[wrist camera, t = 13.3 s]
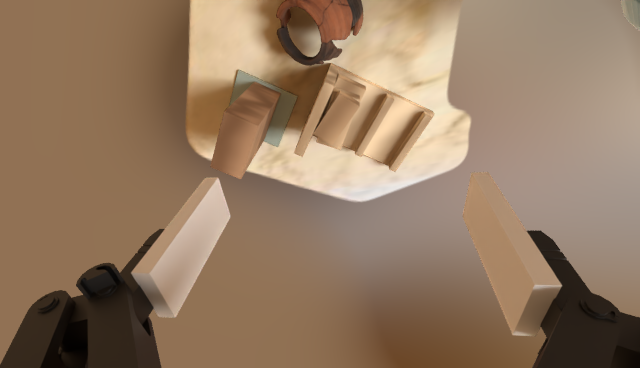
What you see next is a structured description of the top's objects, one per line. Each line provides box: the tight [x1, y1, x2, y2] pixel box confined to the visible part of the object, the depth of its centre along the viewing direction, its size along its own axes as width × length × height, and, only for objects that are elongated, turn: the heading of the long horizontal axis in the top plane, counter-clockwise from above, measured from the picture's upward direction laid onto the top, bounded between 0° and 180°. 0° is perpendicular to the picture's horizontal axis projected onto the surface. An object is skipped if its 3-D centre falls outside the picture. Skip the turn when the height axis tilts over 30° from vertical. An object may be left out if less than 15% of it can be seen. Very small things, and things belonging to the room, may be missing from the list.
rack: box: [294, 63, 434, 172], centre depth 42 cm, size 16×10×9 cm, turn 67°
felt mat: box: [229, 70, 298, 147], centre depth 47 cm, size 9×9×1 cm
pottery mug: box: [276, 0, 363, 65], centre depth 36 cm, size 12×10×8 cm
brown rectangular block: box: [210, 82, 281, 179], centre depth 42 cm, size 4×8×12 cm, turn 157°
